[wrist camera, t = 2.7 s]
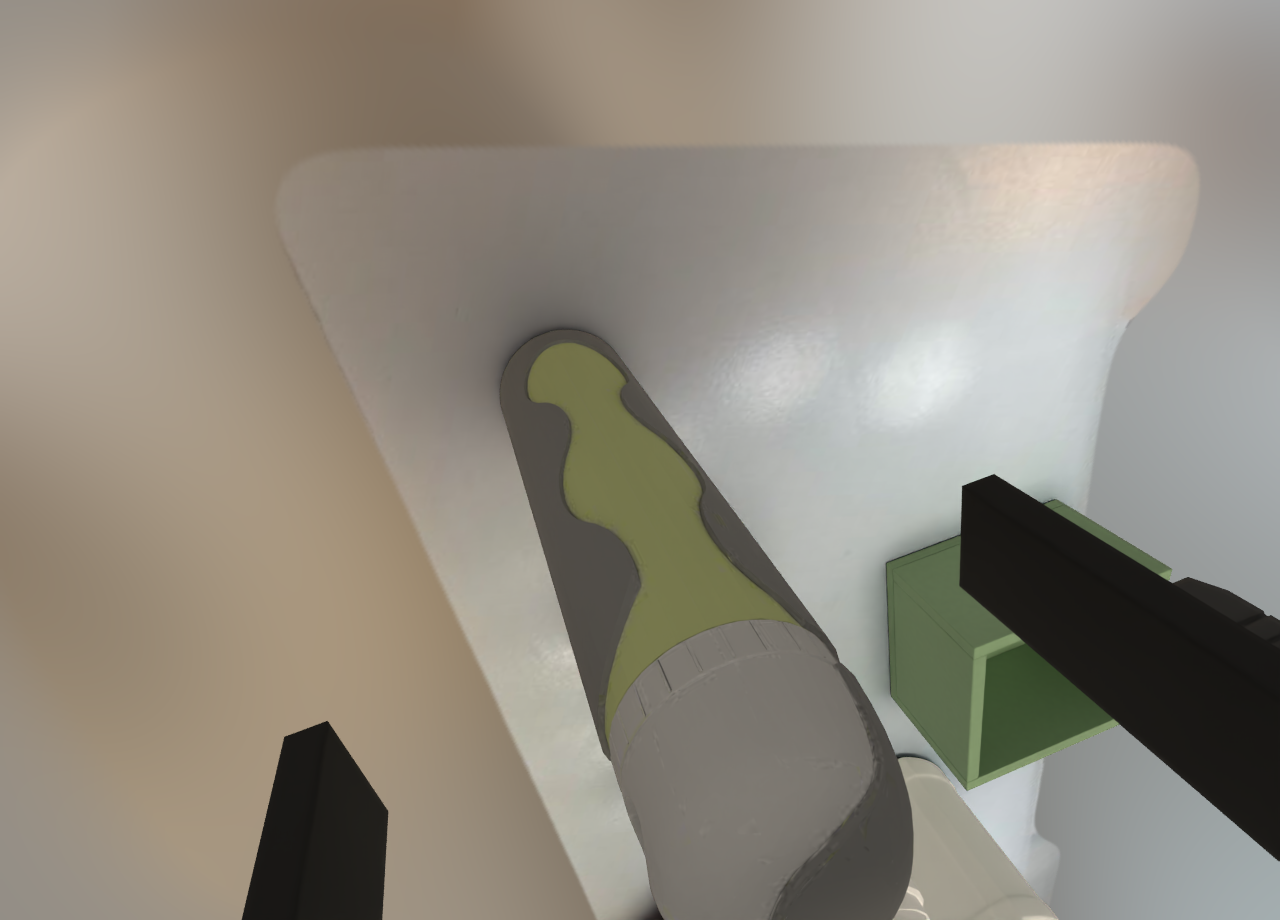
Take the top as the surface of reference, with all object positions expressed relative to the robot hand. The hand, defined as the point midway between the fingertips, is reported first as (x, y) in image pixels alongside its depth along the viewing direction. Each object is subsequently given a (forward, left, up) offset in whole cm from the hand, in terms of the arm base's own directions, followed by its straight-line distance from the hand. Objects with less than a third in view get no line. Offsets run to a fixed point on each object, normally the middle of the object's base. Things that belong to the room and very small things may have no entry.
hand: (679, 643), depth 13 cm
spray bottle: (0, 0, -15) cm, 15 cm away
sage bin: (+3, +27, -14) cm, 31 cm away
